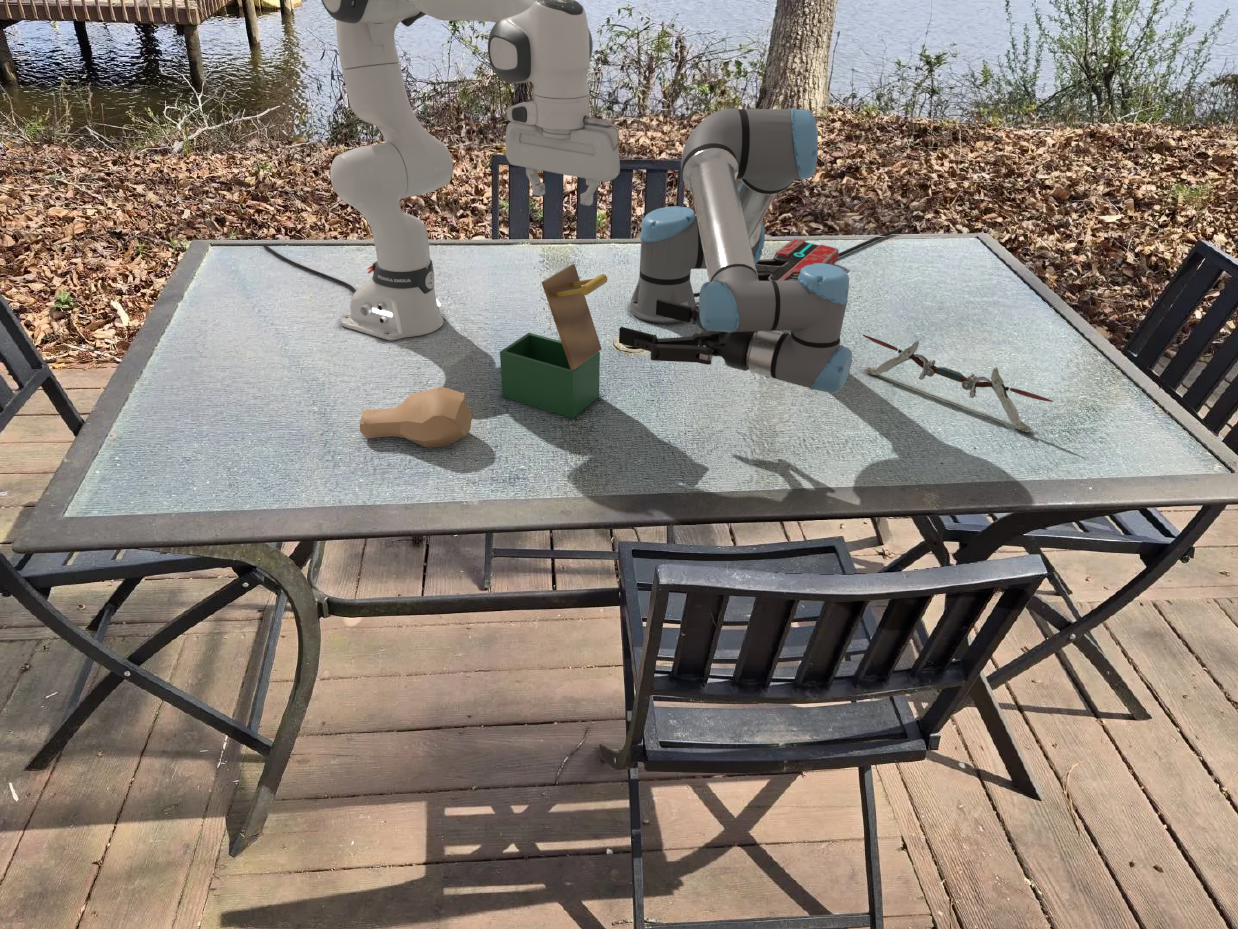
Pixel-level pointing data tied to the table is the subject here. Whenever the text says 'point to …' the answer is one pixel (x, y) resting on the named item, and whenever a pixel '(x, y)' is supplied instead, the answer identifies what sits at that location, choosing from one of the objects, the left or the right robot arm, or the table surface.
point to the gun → (794, 260)
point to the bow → (967, 383)
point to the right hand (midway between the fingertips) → (639, 320)
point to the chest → (548, 376)
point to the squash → (422, 418)
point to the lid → (573, 313)
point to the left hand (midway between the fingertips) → (562, 199)
